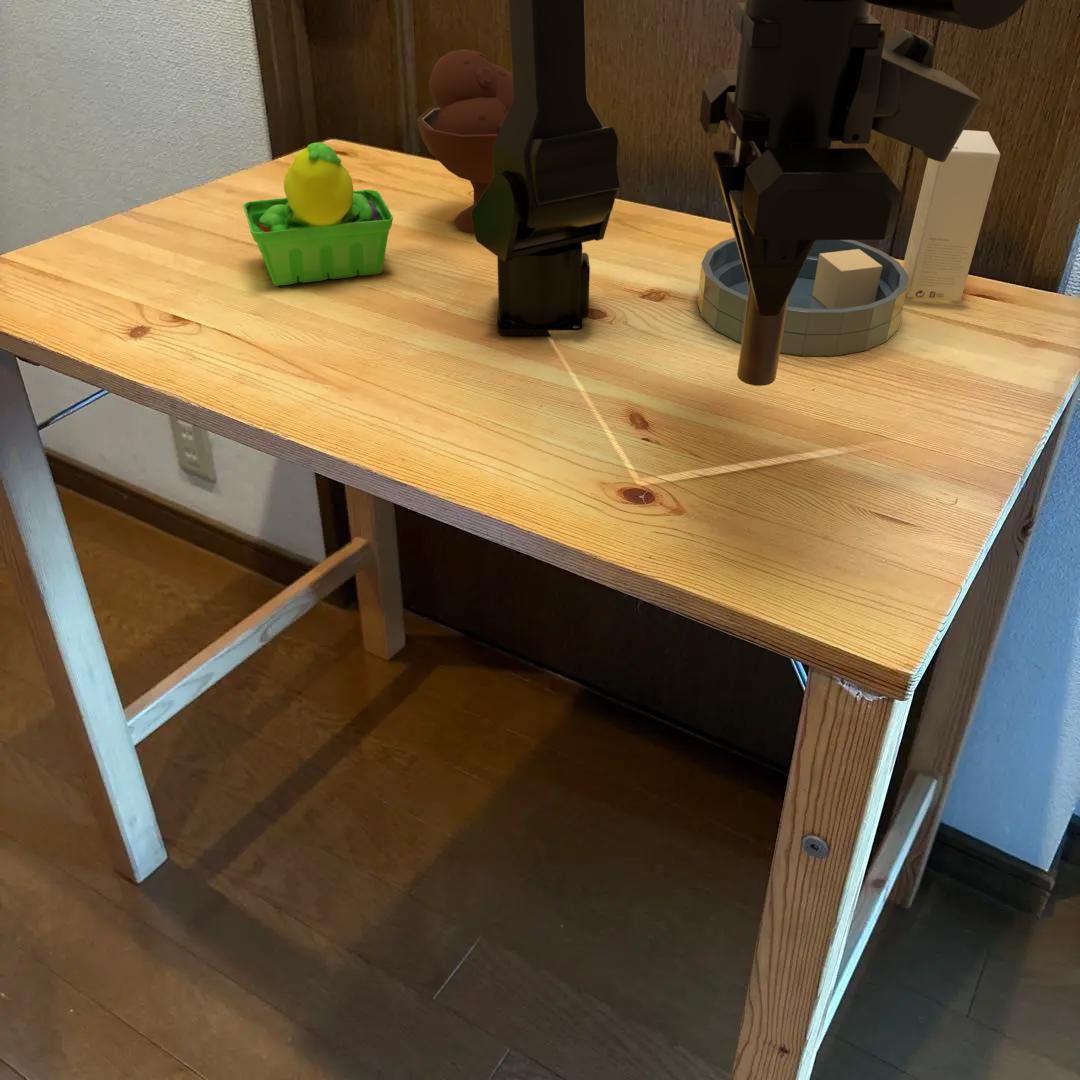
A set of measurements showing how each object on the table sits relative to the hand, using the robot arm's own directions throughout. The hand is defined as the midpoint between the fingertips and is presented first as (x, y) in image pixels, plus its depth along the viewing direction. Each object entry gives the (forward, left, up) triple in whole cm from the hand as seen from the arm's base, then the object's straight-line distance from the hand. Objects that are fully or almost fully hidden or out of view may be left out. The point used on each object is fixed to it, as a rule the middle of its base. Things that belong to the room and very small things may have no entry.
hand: (764, 305), depth 57 cm
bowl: (+8, +21, -11) cm, 25 cm away
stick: (0, 0, -4) cm, 5 cm away
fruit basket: (-30, +30, -11) cm, 44 cm away
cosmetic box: (+20, +26, -11) cm, 35 cm away
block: (+12, +23, -10) cm, 28 cm away
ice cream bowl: (-17, +41, -11) cm, 46 cm away
